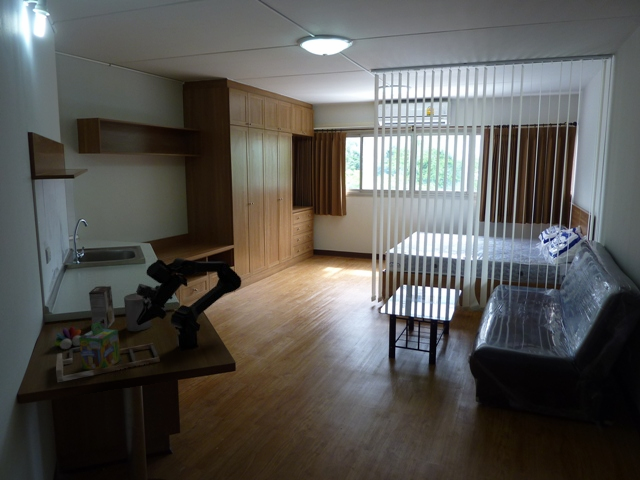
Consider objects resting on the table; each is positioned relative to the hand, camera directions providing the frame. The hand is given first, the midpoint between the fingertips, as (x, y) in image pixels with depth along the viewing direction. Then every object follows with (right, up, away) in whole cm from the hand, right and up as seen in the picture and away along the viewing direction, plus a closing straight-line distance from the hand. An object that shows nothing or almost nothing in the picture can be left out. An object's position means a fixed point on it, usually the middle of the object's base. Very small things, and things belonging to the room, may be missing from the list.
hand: (137, 323), depth 168 cm
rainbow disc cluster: (-31, -11, +14) cm, 36 cm away
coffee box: (-28, -7, +35) cm, 45 cm away
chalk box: (-11, -14, -3) cm, 18 cm away
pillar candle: (-11, -7, +32) cm, 35 cm away
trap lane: (-11, -13, +2) cm, 17 cm away
